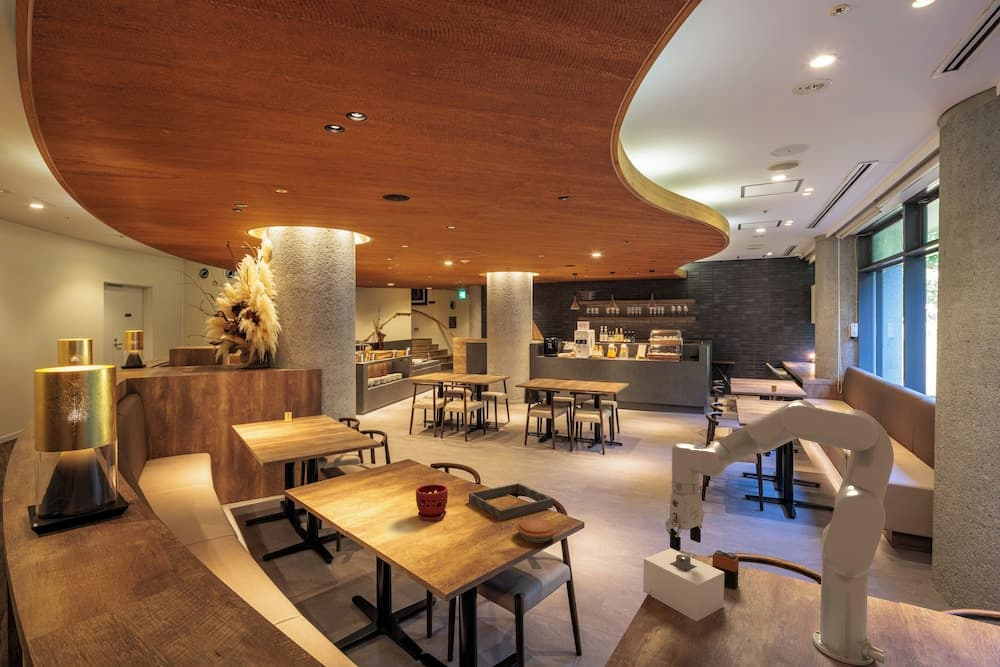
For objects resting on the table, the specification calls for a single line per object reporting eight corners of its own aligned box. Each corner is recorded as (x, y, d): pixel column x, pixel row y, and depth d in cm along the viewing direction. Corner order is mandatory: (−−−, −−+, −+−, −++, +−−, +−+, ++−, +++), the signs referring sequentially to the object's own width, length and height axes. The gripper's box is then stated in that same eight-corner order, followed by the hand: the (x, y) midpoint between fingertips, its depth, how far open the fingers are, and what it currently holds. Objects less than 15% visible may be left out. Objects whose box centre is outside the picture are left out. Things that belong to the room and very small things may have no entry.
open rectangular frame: (552, 507, 217) (552, 498, 217) (500, 520, 201) (500, 511, 201) (518, 491, 237) (518, 483, 237) (468, 502, 221) (469, 493, 221)
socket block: (723, 606, 141) (724, 572, 141) (696, 621, 134) (697, 585, 134) (670, 579, 156) (670, 548, 156) (643, 591, 149) (643, 558, 148)
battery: (734, 590, 150) (735, 558, 150) (711, 583, 154) (712, 551, 154) (738, 584, 154) (739, 553, 154) (715, 577, 158) (716, 546, 158)
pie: (555, 547, 177) (555, 534, 177) (512, 543, 181) (512, 529, 180) (558, 530, 193) (558, 518, 192) (519, 526, 196) (519, 514, 196)
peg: (692, 585, 144) (693, 558, 144) (684, 589, 142) (685, 562, 142) (680, 579, 148) (681, 553, 147) (672, 583, 145) (673, 556, 145)
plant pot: (450, 512, 209) (450, 484, 209) (443, 524, 196) (444, 494, 196) (420, 510, 211) (420, 482, 211) (411, 522, 198) (412, 492, 197)
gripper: (678, 495, 136) (678, 557, 136) (714, 484, 146) (714, 542, 146) (655, 488, 143) (655, 548, 143) (691, 478, 152) (691, 534, 152)
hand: (685, 545), depth 144 cm, fingers open, 9 cm apart
